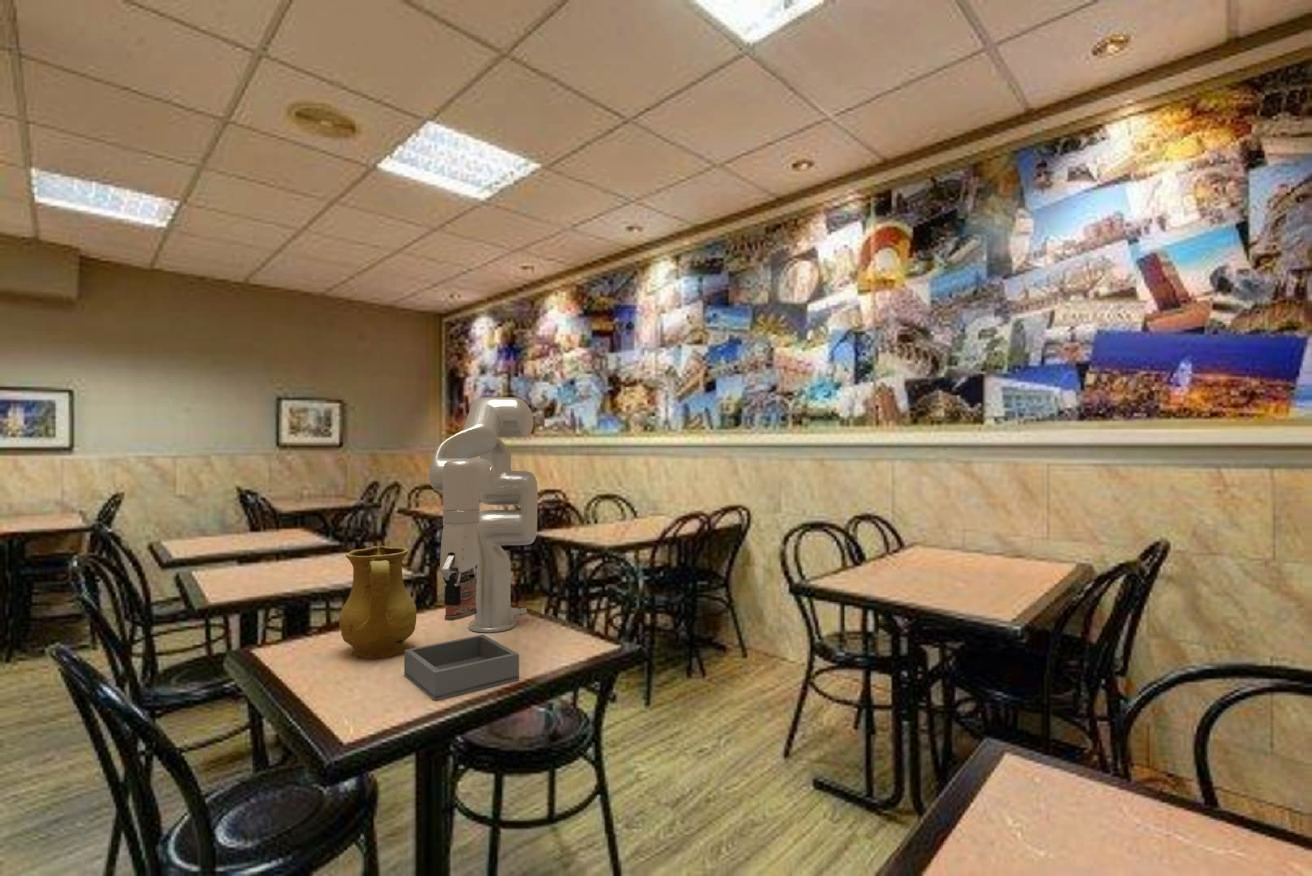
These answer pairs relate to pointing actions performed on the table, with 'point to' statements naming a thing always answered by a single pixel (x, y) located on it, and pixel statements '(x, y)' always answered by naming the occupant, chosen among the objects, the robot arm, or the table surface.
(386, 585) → the pitcher
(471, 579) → the lighter
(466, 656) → the bin
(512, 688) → the table surface
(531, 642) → the table surface
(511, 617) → the robot arm
